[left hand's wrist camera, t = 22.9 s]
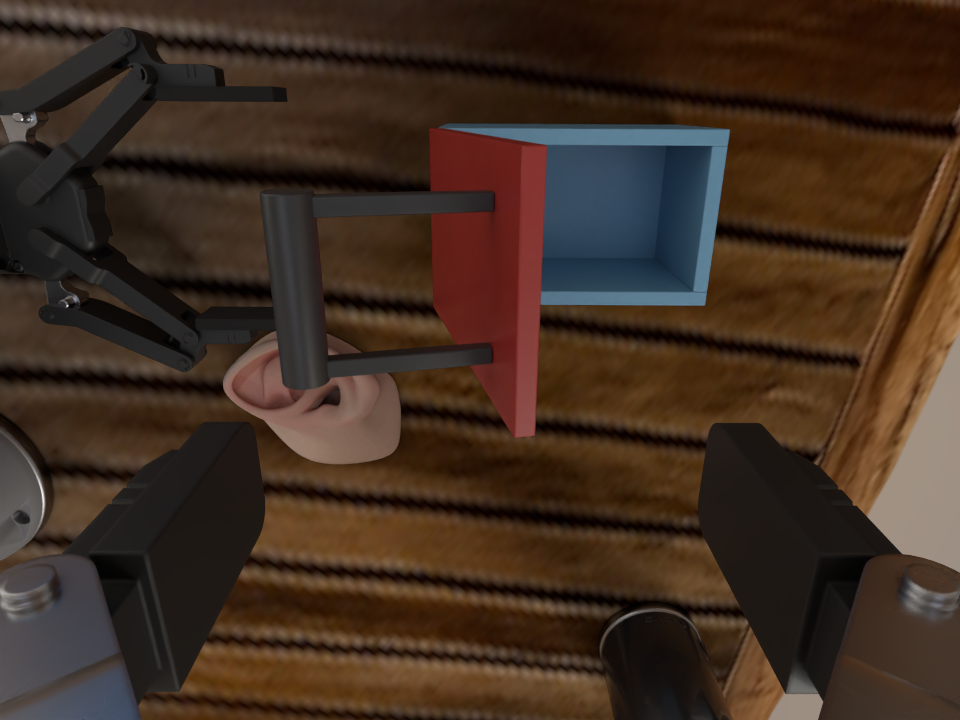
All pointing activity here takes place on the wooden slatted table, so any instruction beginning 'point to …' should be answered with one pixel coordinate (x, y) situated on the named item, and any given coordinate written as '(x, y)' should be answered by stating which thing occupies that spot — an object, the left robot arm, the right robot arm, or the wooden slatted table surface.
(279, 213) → the lid
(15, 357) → the wooden slatted table surface
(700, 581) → the wooden slatted table surface
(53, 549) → the wooden slatted table surface
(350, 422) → the anatomical model
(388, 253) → the wooden slatted table surface
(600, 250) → the chest
